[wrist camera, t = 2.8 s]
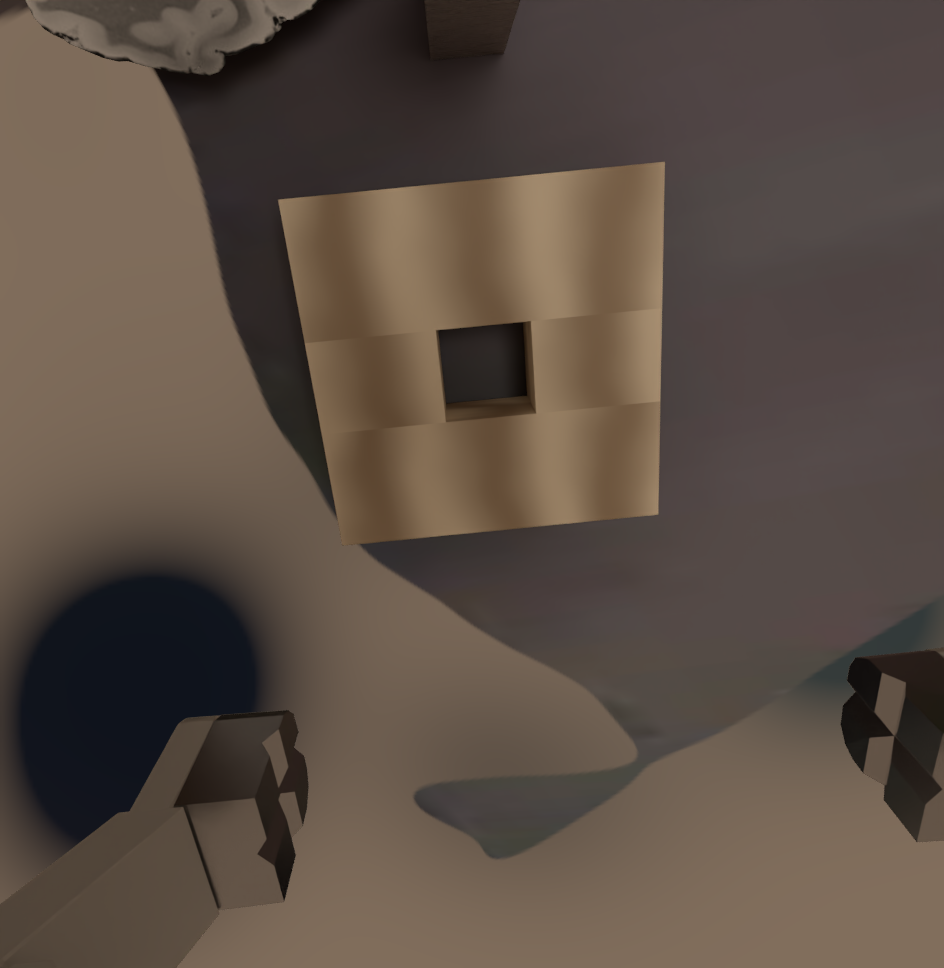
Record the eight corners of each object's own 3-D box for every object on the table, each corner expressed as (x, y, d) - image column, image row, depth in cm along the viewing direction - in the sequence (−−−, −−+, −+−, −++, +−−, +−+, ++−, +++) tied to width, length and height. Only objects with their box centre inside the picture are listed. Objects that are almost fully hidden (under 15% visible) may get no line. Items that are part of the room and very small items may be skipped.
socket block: (352, 516, 40) (342, 545, 36) (296, 203, 33) (278, 199, 29) (638, 488, 40) (658, 514, 36) (640, 169, 33) (664, 161, 29)
